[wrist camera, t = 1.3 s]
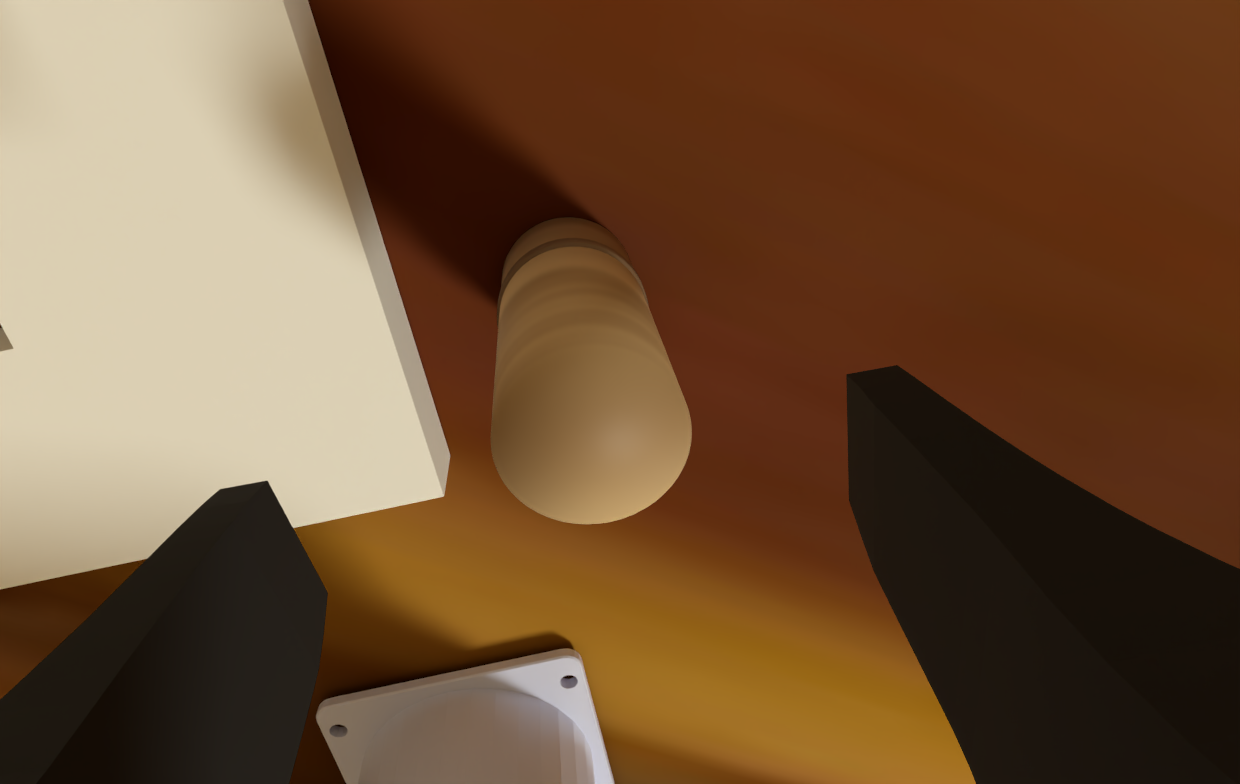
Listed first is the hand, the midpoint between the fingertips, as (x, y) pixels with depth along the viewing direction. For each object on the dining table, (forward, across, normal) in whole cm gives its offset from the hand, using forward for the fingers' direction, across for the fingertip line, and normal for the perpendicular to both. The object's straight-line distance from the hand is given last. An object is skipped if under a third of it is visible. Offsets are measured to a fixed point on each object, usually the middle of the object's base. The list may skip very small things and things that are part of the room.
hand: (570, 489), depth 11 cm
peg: (+10, 0, +2) cm, 11 cm away
